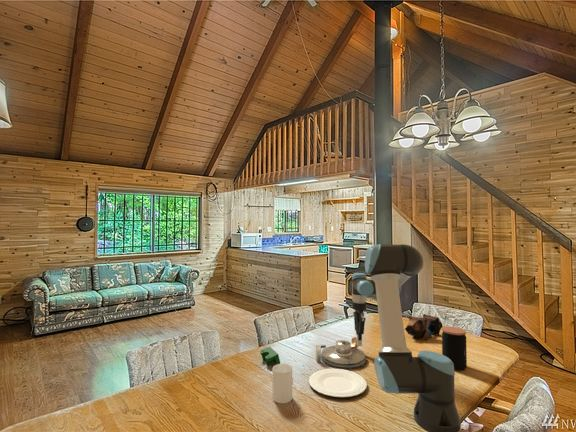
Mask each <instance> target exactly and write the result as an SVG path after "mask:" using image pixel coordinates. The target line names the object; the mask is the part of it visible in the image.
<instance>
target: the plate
mask: <svg viewBox="0 0 576 432" xmlns="http://www.w3.org/2000/svg"><path fill="white" fill-rule="evenodd" d="M308 383H309V386H310V387H311V388H312V389H313V390H314V391H316V392H318V393H319V394H321V395H324V396H327V397H331V398H342V399H344V398H353V397H356V396H359V395H362V394H363V393H364V392H365V391H366V390H367V387H368V384H367V381H366V380H365V378H364V377H362V376H361V375H360V374H359V373H356V372H354V371H351V370H349V369H338V368H325V369H320V370H318V371H315V372H313V374H311V375H310V376H309V378H308Z"/></svg>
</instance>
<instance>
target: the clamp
mask: <svg viewBox="0 0 576 432" xmlns="http://www.w3.org/2000/svg"><path fill="white" fill-rule="evenodd" d="M259 354H260V356H261V359H262V362H265V363H266V366H270V365H272V364H274V366H275V365H277V364H281V360H280V356H279V353H278V352H277V351H276V350H274V349H273V348H272V347H271V346H266V348H263V349H261V350H259Z"/></svg>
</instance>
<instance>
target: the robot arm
mask: <svg viewBox="0 0 576 432" xmlns="http://www.w3.org/2000/svg"><path fill="white" fill-rule="evenodd" d="M423 267H424V258H423V255H422V253H421V252H420V250H418V249H417V248H416V247H415V246H412V245H409V244H406V243H405V244H403V243H402V244H382V243H381V244H380V243H379V244H371V245H369V246H368V247H367V249H366V253H365V257H364V269H365V273H363V272H354V273H353V274H352V277H351V283H352V285H351V286H352V287H351V289H352V293H351V300H352V303H351V305H352V307H351V308H352V310H354V311H353V312H352V314H353V319H354V320H353V321H354V322H353V323H354V331H355V335H356V345H357V346H358V347H363V335H364V333H365V323H366V319H367V318H366V317H364V316H365V314H364V311H366V310H367V298H368V297H370V296H372V295H373V296H374V295H376V302H377V311H378V312H377V313H378V321H379V330H380V331H379V332H380V340H381V341H380V342H381V347H380V349H379V350H378V351H377V352H378V353H377V354H378V356H375V358H374V365H373V366H374V371H375V376H376V380H377V381H378V384H379V387H380V388H381V390H382V391H383V392H385V393H387V394H396V395H398V394H418V397H417V399H416V402H415V404H414V407H413V419H414V421H415V422H416V423H417V425H419V426H420V427H421V428H423V429H425V430H427V431H429V432H460V430H461V428H462V427H461V425H462V424H461V418H460V415H459V412H458V409H457V405H456V403H455V397H456V396H455V376H456V372H455V370H454V364H453V362H452V361H451V360H450V359H449V358H448V357H446V356H444V355H442V353H439V352H436V351H432V350H426V349H425V350H424V349H423V350H420V351H418V353H417V356H413V354H412V353H413V351H412V350H411V349H409V347H408V346H407V342H406V341H407V340H406V333H405V328H404V327H405V326H404V319H403V313H402V306H401V298H400V294H401V293H402V292H401V291H402V285H404V283H406V281H408V280H409V279H410V278H411V277H415V276H417V275H418V274H419V273H420V272H421V271H422V269H423ZM367 274H368V275H370V279H368V278H367Z"/></svg>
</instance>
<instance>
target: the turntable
mask: <svg viewBox="0 0 576 432" xmlns="http://www.w3.org/2000/svg"><path fill="white" fill-rule="evenodd" d="M322 349H323V350H321V353H322V357H323V358H324V359H325V360H327V361H329V362H331V363H335V364H340V365H354V364H358V363H361V362H363V361H364V359H365V357H366V353H364V351H363V350H362V349H359V346H357V345H356V337H355V336H354V337H352V338H351V345H350V350H352V356H349V357H339V356H336V355H335V354H334V349H336V345H331V346H326V348H322Z"/></svg>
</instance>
